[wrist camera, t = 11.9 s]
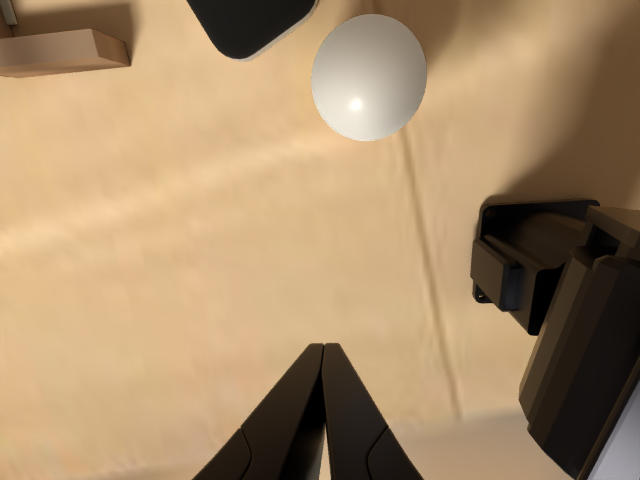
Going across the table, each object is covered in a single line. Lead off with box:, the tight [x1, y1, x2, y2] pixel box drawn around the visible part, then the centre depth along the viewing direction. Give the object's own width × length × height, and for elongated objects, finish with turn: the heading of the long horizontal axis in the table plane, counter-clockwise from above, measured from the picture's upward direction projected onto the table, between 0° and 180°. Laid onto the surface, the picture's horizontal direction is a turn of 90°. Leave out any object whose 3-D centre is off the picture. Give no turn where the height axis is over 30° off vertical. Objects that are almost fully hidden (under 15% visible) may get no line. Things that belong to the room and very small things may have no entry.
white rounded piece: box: [311, 14, 427, 141], centre depth 16 cm, size 5×5×4 cm
